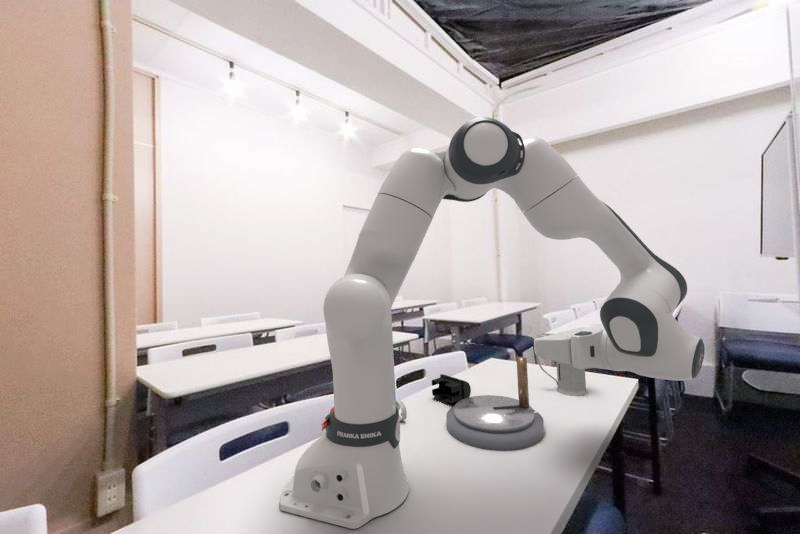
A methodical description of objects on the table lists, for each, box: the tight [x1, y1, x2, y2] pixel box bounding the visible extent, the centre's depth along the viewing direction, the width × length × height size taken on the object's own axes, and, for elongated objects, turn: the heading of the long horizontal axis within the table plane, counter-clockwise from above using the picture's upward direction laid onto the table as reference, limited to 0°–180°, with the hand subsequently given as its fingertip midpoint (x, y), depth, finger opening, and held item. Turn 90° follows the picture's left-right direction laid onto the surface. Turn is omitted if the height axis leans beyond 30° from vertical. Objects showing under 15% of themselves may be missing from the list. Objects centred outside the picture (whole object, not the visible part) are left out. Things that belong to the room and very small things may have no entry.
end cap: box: [431, 373, 472, 408], centre depth 104 cm, size 10×7×7 cm
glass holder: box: [535, 354, 589, 397], centre depth 107 cm, size 9×14×15 cm, turn 75°
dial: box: [454, 356, 535, 433], centre depth 85 cm, size 19×19×14 cm
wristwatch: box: [396, 399, 408, 422], centre depth 91 cm, size 3×5×5 cm, turn 29°
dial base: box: [446, 406, 545, 451], centre depth 85 cm, size 23×23×3 cm
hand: (540, 337), depth 82 cm, fingers closed
